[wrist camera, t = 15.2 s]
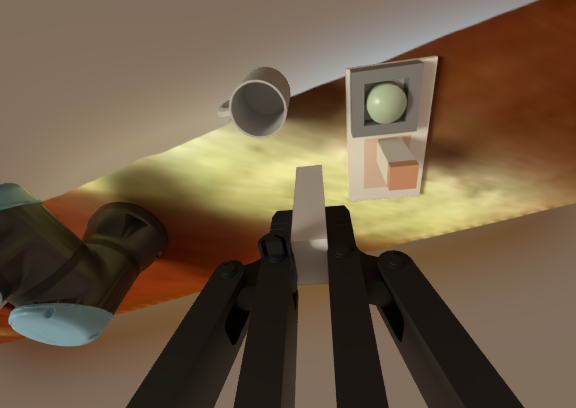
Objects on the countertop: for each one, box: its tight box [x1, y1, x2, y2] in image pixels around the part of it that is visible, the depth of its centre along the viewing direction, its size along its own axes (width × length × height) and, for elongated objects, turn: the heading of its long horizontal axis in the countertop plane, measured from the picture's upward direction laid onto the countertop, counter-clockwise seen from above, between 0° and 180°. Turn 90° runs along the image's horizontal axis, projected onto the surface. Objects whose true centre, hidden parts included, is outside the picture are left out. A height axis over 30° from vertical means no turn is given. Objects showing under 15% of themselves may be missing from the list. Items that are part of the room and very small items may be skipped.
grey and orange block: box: [377, 137, 419, 191], centre depth 42 cm, size 4×4×10 cm
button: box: [365, 81, 407, 124], centre depth 40 cm, size 5×5×3 cm
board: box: [345, 56, 438, 201], centre depth 45 cm, size 12×22×4 cm, turn 8°
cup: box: [218, 67, 290, 138], centre depth 40 cm, size 7×10×9 cm
